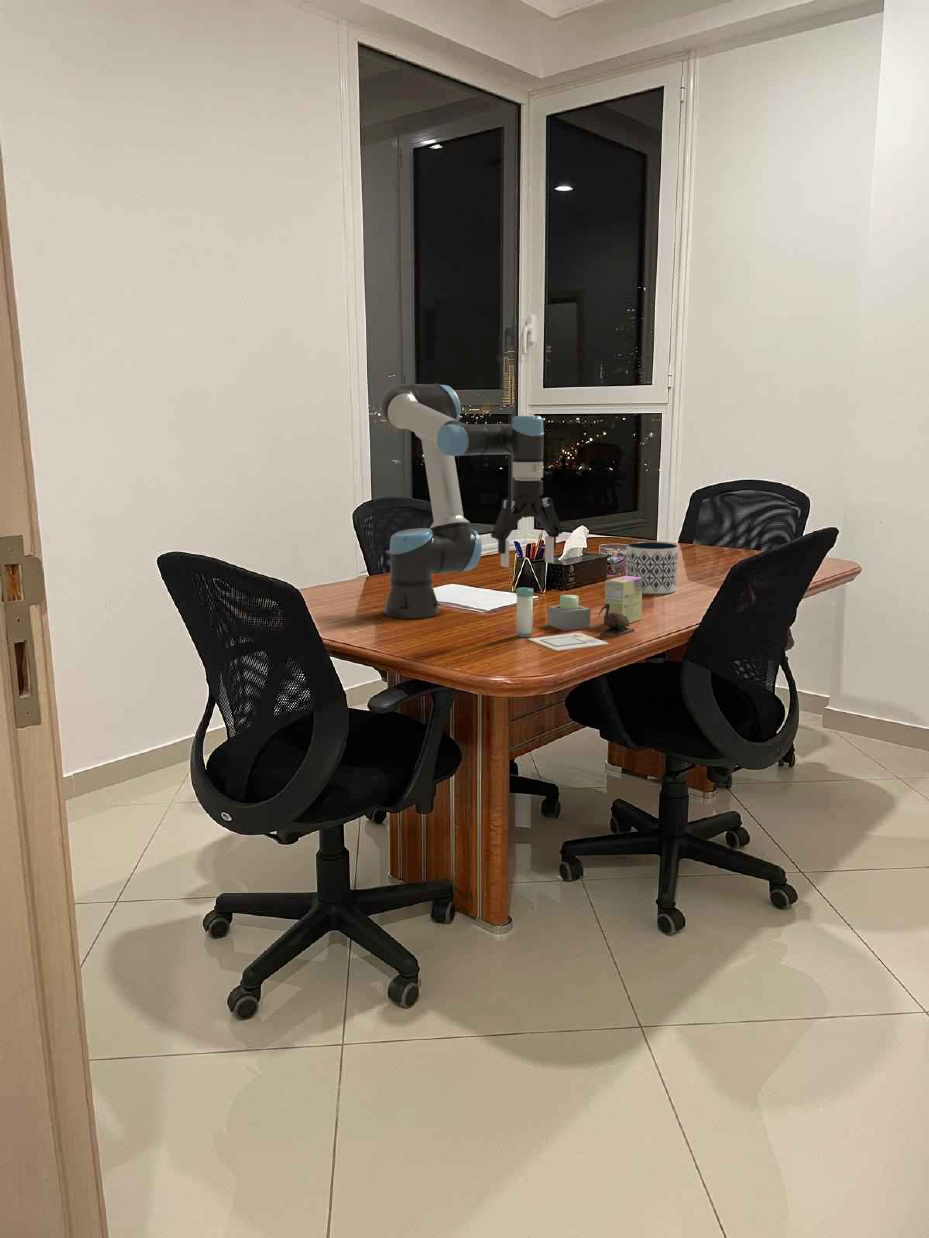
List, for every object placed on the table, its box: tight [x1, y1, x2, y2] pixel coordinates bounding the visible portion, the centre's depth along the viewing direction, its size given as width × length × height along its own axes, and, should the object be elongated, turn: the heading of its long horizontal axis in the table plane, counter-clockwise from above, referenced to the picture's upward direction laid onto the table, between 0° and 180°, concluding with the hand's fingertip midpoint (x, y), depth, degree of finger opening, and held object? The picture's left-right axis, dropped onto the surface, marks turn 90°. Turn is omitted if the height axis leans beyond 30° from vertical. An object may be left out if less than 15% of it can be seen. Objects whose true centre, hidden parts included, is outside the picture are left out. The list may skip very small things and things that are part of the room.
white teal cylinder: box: [515, 587, 534, 638], centre depth 240 cm, size 4×4×12 cm
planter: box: [625, 541, 679, 595], centre depth 301 cm, size 16×16×14 cm
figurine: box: [598, 603, 635, 639], centre depth 242 cm, size 14×4×9 cm, turn 140°
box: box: [604, 575, 643, 624], centre depth 256 cm, size 10×6×12 cm, turn 141°
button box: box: [547, 604, 592, 632], centre depth 251 cm, size 8×8×5 cm
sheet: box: [528, 632, 610, 652], centre depth 234 cm, size 15×13×1 cm
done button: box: [559, 594, 580, 611], centre depth 251 cm, size 5×5×6 cm
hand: (527, 564), depth 241 cm, fingers open, 13 cm apart
